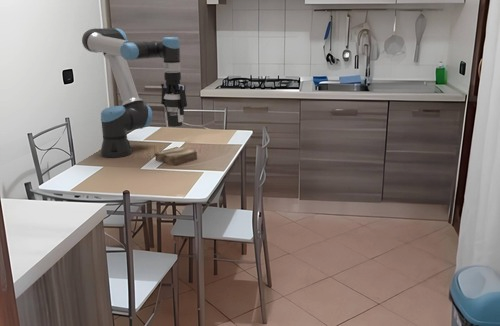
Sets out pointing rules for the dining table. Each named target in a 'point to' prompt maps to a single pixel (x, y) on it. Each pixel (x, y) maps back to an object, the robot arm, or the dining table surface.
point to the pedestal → (176, 156)
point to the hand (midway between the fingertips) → (174, 120)
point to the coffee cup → (172, 109)
